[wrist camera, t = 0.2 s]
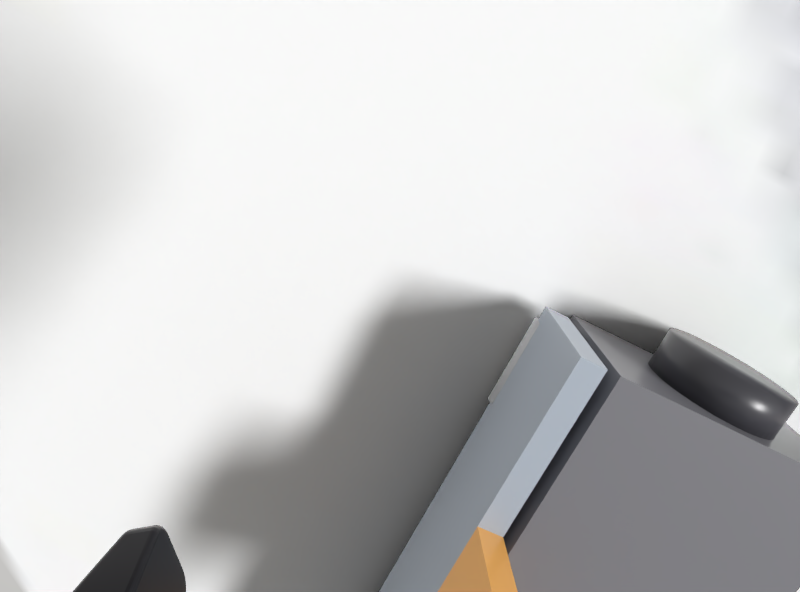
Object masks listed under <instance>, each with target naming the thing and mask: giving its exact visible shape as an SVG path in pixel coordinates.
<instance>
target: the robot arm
mask: <svg viewBox="0 0 800 592" xmlns="http://www.w3.org/2000/svg"><path fill="white" fill-rule="evenodd" d="M73 592H186V582H185V576H184V572H183V569H182V567H181V564H180V562H179V559H178V557H177V555H176V552H175V550H174V548H173V545H172V543H171V540H170V538H169V536H168V534H167V532H166V530H165V529H164V528H163V527H162V526H158V525H154V526H148V527H142V528H136V529H131V530H129V531H127V532H125V533H124V534H123V535H122V536H121V537H120V538H119V539H118V541H117V542H116V543H115V544H114V545H113V546H112V547H111V549H110V550H109V551H108V552H107V553H106V554H105V555H104V557H103V558H102V559H101V560H100V561H99V562H98V563H97V565H96V566H95V567H94V568H93V569H92V570H91V571H90V572H89V574H88V575H87V576H86V577H85V578H84V579H83V580H82V582H81V583H80V584H79V585H78V586H77V587H76V588H75V590H74V591H73Z"/></svg>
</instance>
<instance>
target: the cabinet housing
mask: <svg viewBox="0 0 800 592" xmlns="http://www.w3.org/2000/svg"><path fill="white" fill-rule="evenodd" d="M570 320H571V322H572V323H573V324H574V326H575V327H576V328H577V330H578V331H579V332H580V334H581V335H582V336H583V338H584V339H585V340H586V342H587V343H588V344H589V346H590V347H591V348H592V350H593V351H594V352H595V353H596V355H597V356H598V357H599V359H600V360H601V361H602V363H603V364H604V365H605V367H606V368H607V369H608V370H607V372H606V374H605V375H604V377H603V378H602V380H601V382H600V383H599V385H598V386H597V388H596V390H595V391H594V393H593V394H592V396H591V398H590V399H589V401H588V402H587V404H586V406H585V407H584V409H583V410H582V412H581V414H580V415H579V417H578V418H577V420H576V422H575V423H574V425H573V426H572V428H571V430H570V431H569V433H568V434H567V436H566V438H565V439H564V441H563V442H562V444H561V446H560V447H559V449H558V450H557V452H556V454H555V455H554V457H553V458H552V460H551V462H550V463H549V465H548V466H547V468H546V470H545V471H544V473H543V474H542V476H541V478H540V479H539V481H538V482H537V484H536V486H535V487H534V489H533V490H532V492H531V494H530V495H529V497H528V499H527V500H526V502H525V503H524V505H523V507H522V508H521V510H520V511H519V513H518V515H517V516H516V518H515V519H514V521H513V523H512V524H511V526H510V527H509V529H508V531H507V532H506V534H505V535H504V537H503V538H504V542H505V546H506V550H507V554H508V557H509V561H510V565H511V569H512V572H513V576H514V580H515V584H516V587H517V591H518V592H796V591H797V590H798V589H799V587H800V435H799V434H798V433H797V432H796V431H794V430H793V429H792V428H791V427H790V426H789V425H788V424H786V423H785V422H786V421H787V420H788V418H789V417H790V415H791V414H792V413H793V411H794V410H795V408H796V407H797V405H798V401H797V400H796V399H795V398H794V397H793V396H792V395H790V394H789V393H788V392H787V391H785V390H784V389H783V388H781V387H780V386H779V385H777V384H776V383H774V382H773V381H772V380H770V379H769V378H767V377H766V376H764V375H763V374H761V373H759V372H758V371H756V370H755V369H753V368H752V367H750V366H748V365H747V364H745V363H743V362H742V361H740V360H738V359H737V358H735V357H733V356H731V355H730V354H728V353H726V352H724V351H723V350H721V349H719V348H717V347H715V346H713V345H711V344H709V343H708V342H706V341H704V340H702V339H700V338H697V337H695V336H693V335H691V334H689V333H686V332H684V331H681V330H678V329H675V328H670V329H669V331H668V332H667V334H666V335H665V337H664V339H663V340H662V342H661V343H660V345H659V346H658V348H657V350H656V351H655V353H654V354H652V353H650V352H648V351H646V350H643V349H641V348H639V347H637V346H635V345H633V344H631V343H629V342H627V341H625V340H623V339H621V338H619V337H617V336H615V335H613V334H611V333H609V332H607V331H605V330H603V329H601V328H599V327H597V326H595V325H593V324H591V323H589V322H587V321H585V320H583V319H581V318H579V317H576V316H574V315H573V316H572V317H571V319H570Z"/></svg>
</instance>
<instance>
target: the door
mask: <svg viewBox="0 0 800 592" xmlns="http://www.w3.org/2000/svg"><path fill="white" fill-rule="evenodd" d="M607 370H608V369H607V368H606V367H605V365H604V364H603V363H602V361H601V360H600V359H599V357H598V356H597V355H596V353H595V352H594V351H593V350H592V348H591V347H590V346H589V344H588V343H587V342H586V340H585V339H584V338H583V336H582V335H581V334H580V332H579V331H578V330H577V328H576V327H575V326H574V324H573V323H572V322H571V320H570V319H569V318H568V317H566V316H564V315H562V314H560V313H558V312H556V311H554V310H552V309H550V308H548V307H545V309H544V311H543V312H542V314H541V316H540V318H538V317H535V318H534V320H533V322H532V323H531V325H530V327H529V328H528V330H527V332H526V334H525V335H524V337H523V339H522V340H521V342H520V344H519V346H518V347H517V349H516V351H515V352H514V354H513V356H512V358H511V359H510V361H509V363H508V364H507V366H506V368H505V370H504V371H503V373H502V375H501V376H500V378H499V380H498V382H497V383H496V385H495V387H494V388H493V390H492V392H491V394H490V395H489V397H488V400H489V401H490V403H489V405H488V406H487V408H486V410H485V411H484V413H483V415H482V417H481V418H480V420H479V422H478V423H477V425H476V427H475V429H474V430H473V432H472V434H471V435H470V437H469V439H468V440H467V442H466V444H465V446H464V447H463V449H462V451H461V452H460V454H459V456H458V458H457V459H456V461H455V463H454V464H453V466H452V468H451V469H450V471H449V473H448V475H447V476H446V478H445V480H444V481H443V483H442V485H441V487H440V488H439V490H438V492H437V493H436V495H435V497H434V498H433V500H432V502H431V504H430V505H429V507H428V509H427V510H426V512H425V514H424V516H423V517H422V519H421V521H420V522H419V524H418V526H417V528H416V529H415V531H414V533H413V534H412V536H411V538H410V539H409V541H408V543H407V545H406V546H405V548H404V550H403V551H402V553H401V555H400V557H399V558H398V560H397V562H396V563H395V565H394V567H393V568H392V570H391V572H390V574H389V575H388V577H387V579H386V580H385V582H384V584H383V586H382V587H381V589H380V591H379V592H518V591H517V587H516V584H515V580H514V576H513V572H512V569H511V565H510V561H509V557H508V554H507V550H506V546H505V542H504V538H503V537H504V535H505V534H506V532H507V531H508V529H509V527H510V526H511V524H512V523H513V521H514V519H515V518H516V516H517V515H518V513H519V511H520V510H521V508H522V507H523V505H524V503H525V502H526V500H527V499H528V497H529V495H530V494H531V492H532V490H533V489H534V487H535V486H536V484H537V482H538V481H539V479H540V478H541V476H542V474H543V473H544V471H545V470H546V468H547V466H548V465H549V463H550V462H551V460H552V458H553V457H554V455H555V454H556V452H557V450H558V449H559V447H560V446H561V444H562V442H563V441H564V439H565V438H566V436H567V434H568V433H569V431H570V430H571V428H572V426H573V425H574V423H575V422H576V420H577V418H578V417H579V415H580V414H581V412H582V410H583V409H584V407H585V406H586V404H587V402H588V401H589V399H590V398H591V396H592V394H593V393H594V391H595V390H596V388H597V386H598V385H599V383H600V382H601V380H602V378H603V377H604V375H605V374H606V372H607Z"/></svg>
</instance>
